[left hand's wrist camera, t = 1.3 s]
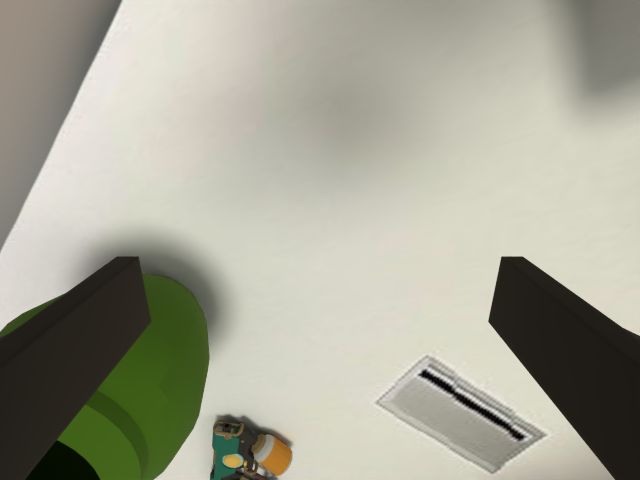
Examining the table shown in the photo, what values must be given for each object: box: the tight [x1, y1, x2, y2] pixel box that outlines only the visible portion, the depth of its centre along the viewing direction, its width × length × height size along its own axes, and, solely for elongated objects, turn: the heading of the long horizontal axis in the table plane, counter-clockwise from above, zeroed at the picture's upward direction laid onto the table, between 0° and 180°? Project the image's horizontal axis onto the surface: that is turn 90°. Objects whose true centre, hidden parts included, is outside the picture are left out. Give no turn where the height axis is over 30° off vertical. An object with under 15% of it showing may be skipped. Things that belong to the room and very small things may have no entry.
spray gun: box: [210, 421, 292, 480], centre depth 56 cm, size 4×17×15 cm
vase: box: [0, 274, 209, 480], centre depth 36 cm, size 20×20×24 cm
